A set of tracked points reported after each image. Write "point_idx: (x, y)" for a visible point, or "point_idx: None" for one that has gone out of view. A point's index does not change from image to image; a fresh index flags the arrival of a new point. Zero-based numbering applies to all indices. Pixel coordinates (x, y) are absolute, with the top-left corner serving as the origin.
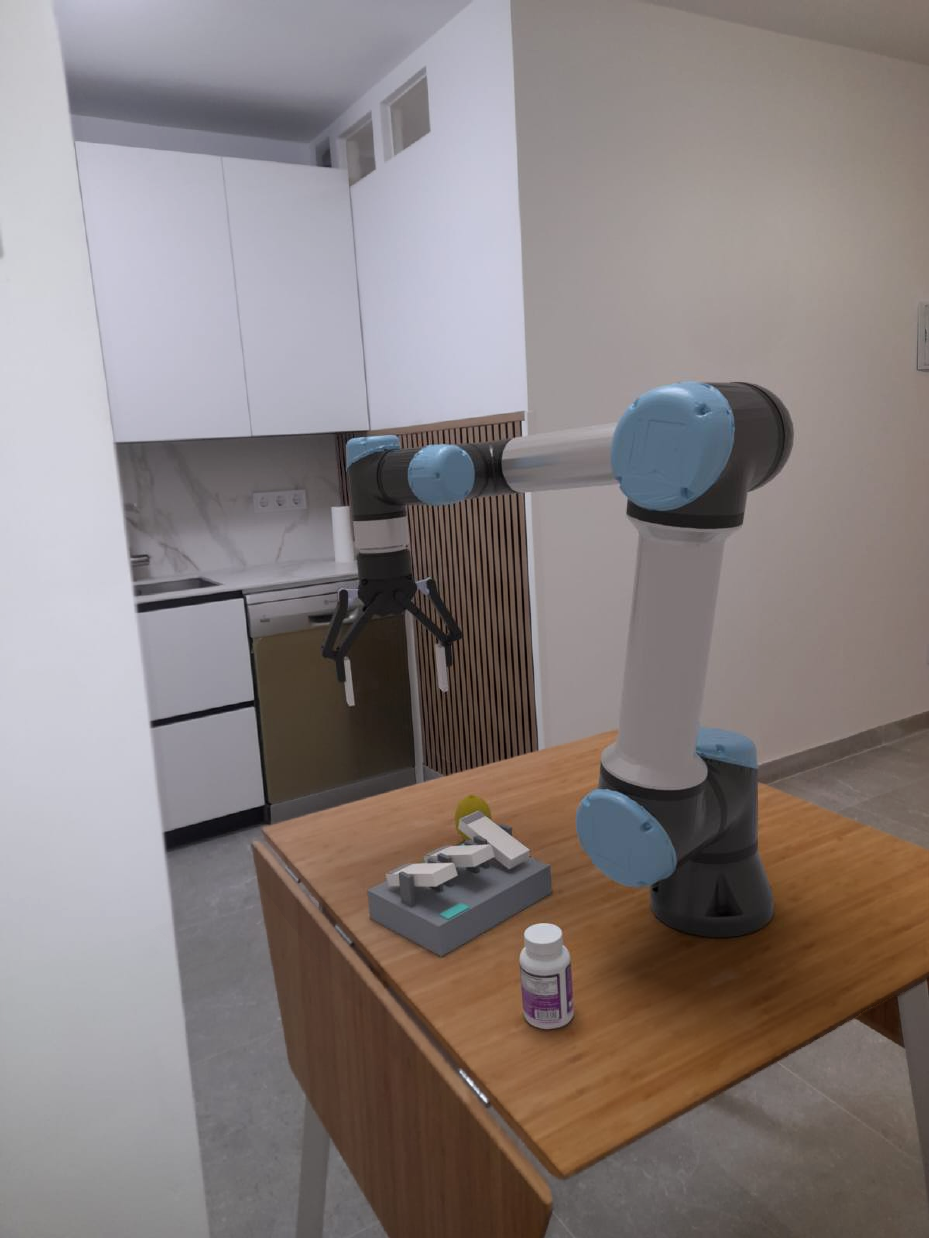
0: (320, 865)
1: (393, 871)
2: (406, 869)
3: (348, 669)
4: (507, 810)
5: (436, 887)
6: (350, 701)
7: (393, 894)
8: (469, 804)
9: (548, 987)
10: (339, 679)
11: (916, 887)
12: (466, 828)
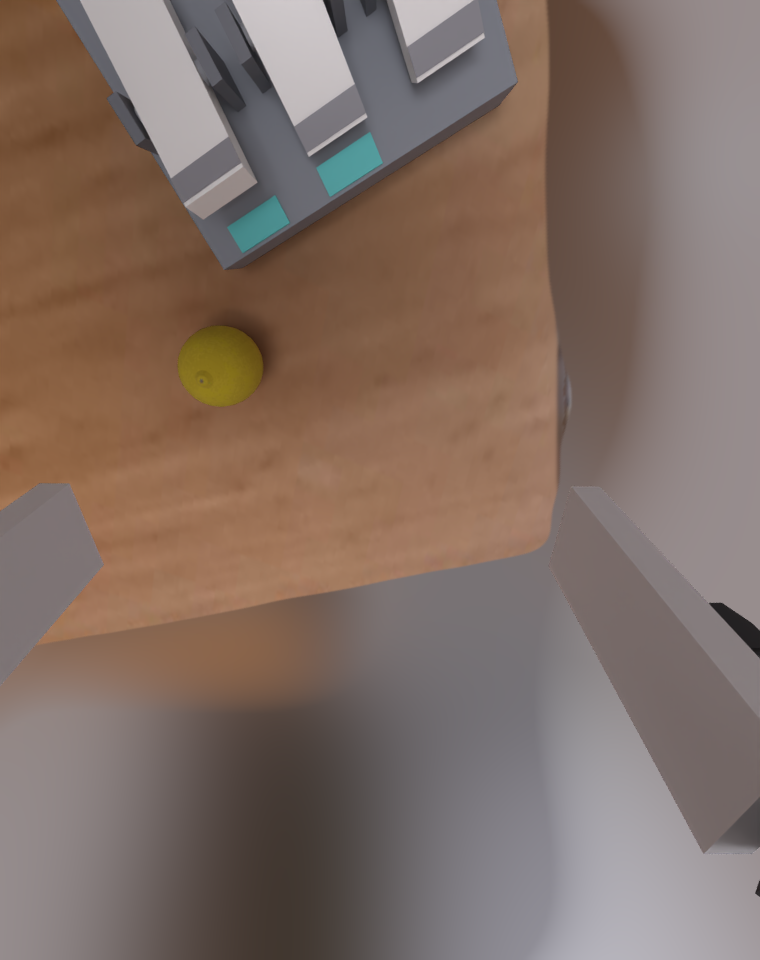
0: (517, 387)
1: (467, 16)
2: None
3: (738, 667)
4: (165, 462)
5: None
6: (602, 500)
7: None
8: (215, 356)
9: None
10: (737, 621)
11: None
12: (234, 143)
